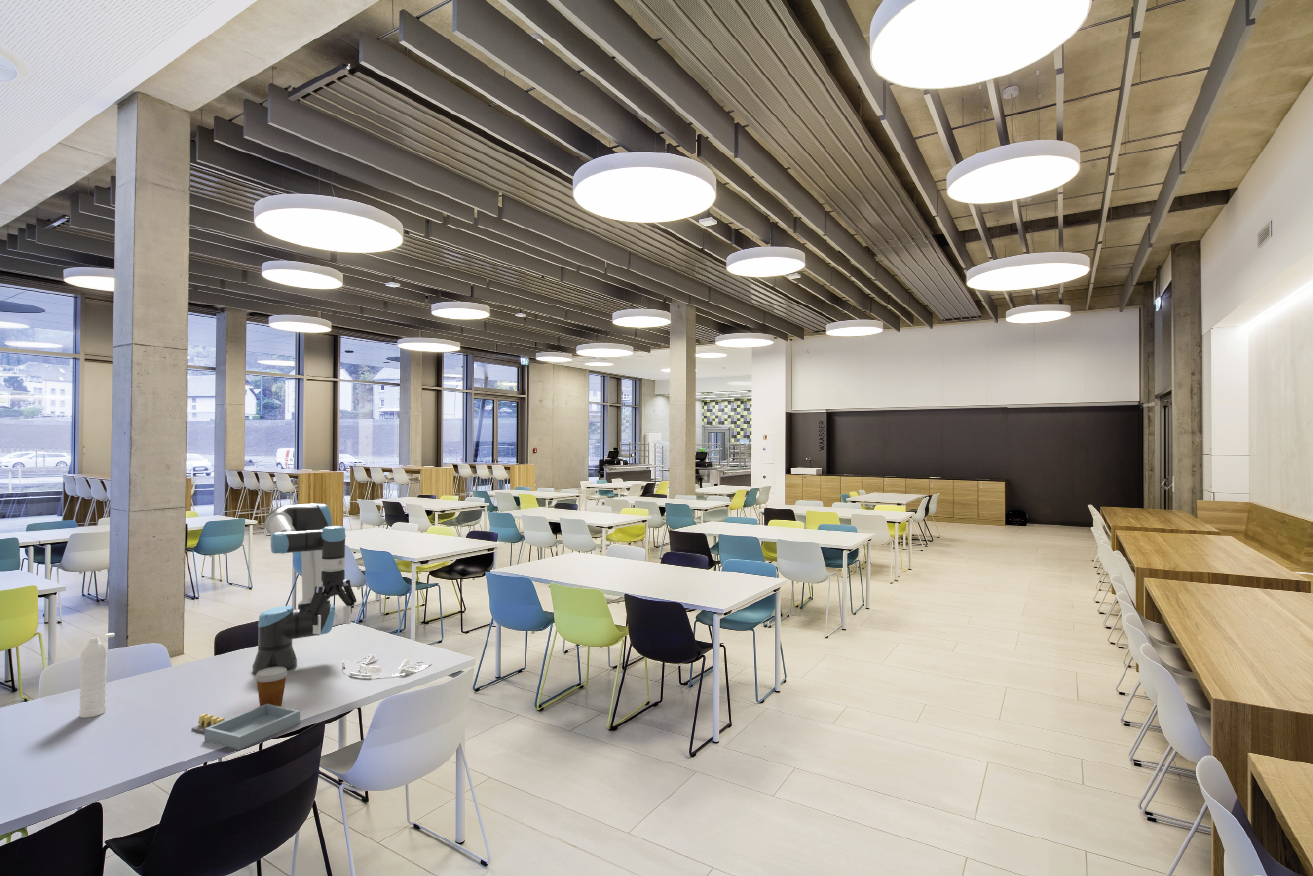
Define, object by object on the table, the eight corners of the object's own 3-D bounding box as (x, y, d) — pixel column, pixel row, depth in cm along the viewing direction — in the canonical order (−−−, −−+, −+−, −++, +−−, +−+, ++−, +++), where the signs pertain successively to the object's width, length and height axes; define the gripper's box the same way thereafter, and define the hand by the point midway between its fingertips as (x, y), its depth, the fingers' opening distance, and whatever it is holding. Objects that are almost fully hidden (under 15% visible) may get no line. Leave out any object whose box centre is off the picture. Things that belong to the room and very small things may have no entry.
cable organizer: (436, 664, 260) (436, 655, 260) (397, 685, 237) (397, 675, 237) (365, 655, 270) (365, 647, 270) (321, 674, 247) (321, 665, 247)
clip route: (190, 730, 197) (190, 718, 197) (210, 722, 203) (210, 710, 203) (214, 736, 193) (214, 723, 193) (234, 728, 199) (234, 716, 199)
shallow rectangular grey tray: (204, 740, 190) (204, 728, 190) (266, 714, 209) (267, 703, 209) (239, 749, 185) (239, 737, 185) (300, 722, 204) (300, 710, 204)
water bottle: (85, 719, 204) (87, 641, 204) (75, 715, 207) (76, 638, 207) (118, 709, 212) (119, 634, 212) (107, 706, 215) (109, 631, 215)
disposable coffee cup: (263, 715, 209) (264, 678, 209) (248, 708, 214) (249, 672, 214) (293, 705, 217) (293, 669, 217) (278, 699, 222) (278, 664, 222)
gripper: (312, 577, 217) (311, 639, 217) (367, 564, 241) (366, 620, 240) (295, 575, 219) (294, 637, 219) (351, 563, 243) (350, 618, 243)
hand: (332, 628), depth 230 cm, fingers open, 13 cm apart
